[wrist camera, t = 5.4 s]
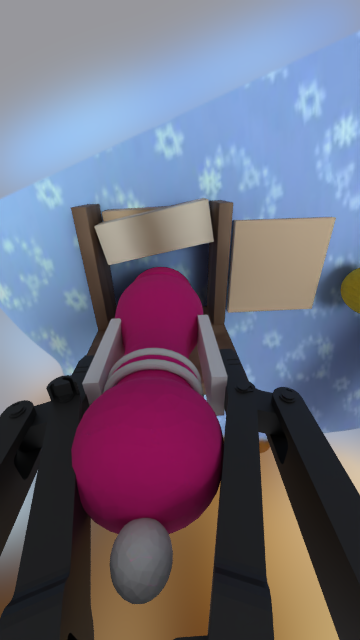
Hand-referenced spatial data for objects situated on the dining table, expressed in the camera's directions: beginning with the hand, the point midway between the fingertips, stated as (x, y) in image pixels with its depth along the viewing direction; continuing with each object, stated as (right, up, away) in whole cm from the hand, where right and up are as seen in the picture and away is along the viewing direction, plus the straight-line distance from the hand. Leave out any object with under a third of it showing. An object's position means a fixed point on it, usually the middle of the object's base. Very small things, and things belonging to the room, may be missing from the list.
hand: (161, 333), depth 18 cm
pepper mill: (0, +3, +6) cm, 7 cm away
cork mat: (+13, +7, +11) cm, 19 cm away
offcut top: (-1, +10, +6) cm, 12 cm away
